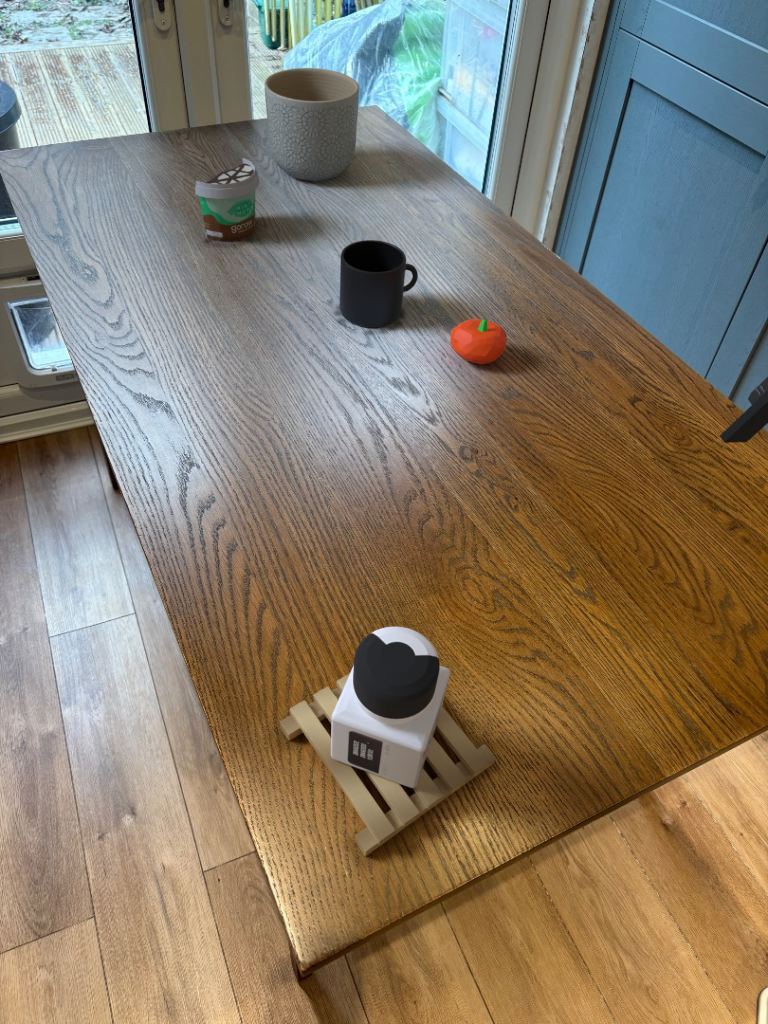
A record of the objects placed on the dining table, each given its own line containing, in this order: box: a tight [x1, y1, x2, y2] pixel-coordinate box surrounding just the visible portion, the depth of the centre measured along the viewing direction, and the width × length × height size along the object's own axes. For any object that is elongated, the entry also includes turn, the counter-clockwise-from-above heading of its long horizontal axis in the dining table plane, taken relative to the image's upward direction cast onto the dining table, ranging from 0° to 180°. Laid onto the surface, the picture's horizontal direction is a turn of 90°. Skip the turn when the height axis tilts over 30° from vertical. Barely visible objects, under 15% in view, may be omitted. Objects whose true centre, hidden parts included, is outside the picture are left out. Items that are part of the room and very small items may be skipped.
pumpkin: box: [449, 318, 508, 365], centre depth 105 cm, size 7×8×6 cm
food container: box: [194, 157, 260, 243], centre depth 124 cm, size 12×6×10 cm, turn 147°
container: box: [330, 626, 451, 789], centre depth 61 cm, size 8×8×13 cm
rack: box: [279, 672, 497, 857], centre depth 67 cm, size 14×14×2 cm
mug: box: [339, 239, 419, 328], centre depth 111 cm, size 9×12×9 cm
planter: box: [264, 67, 360, 182], centre depth 140 cm, size 17×17×15 cm
